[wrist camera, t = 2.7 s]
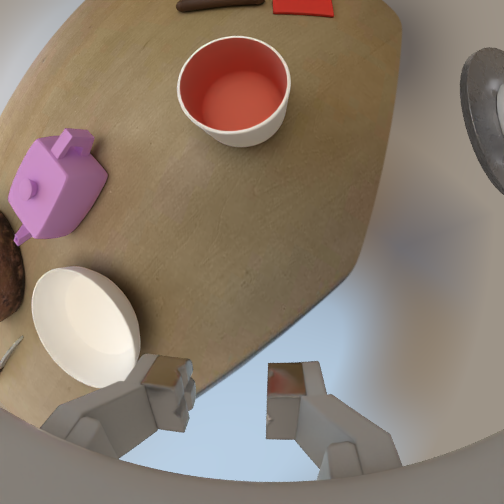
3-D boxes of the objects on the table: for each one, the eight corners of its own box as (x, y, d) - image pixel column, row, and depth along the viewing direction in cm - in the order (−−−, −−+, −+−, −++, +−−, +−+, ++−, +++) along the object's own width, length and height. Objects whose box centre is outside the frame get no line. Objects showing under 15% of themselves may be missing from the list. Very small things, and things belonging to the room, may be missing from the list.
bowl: (180, 331, 38) (164, 359, 31) (110, 377, 42) (91, 402, 35) (99, 228, 36) (68, 238, 29) (44, 295, 39) (17, 311, 32)
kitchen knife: (-11, 383, 45) (12, 347, 38) (-13, 380, 44) (9, 343, 38) (-2, 376, 49) (24, 338, 42) (-4, 373, 49) (21, 334, 42)
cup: (285, 148, 32) (291, 134, 22) (201, 150, 33) (174, 137, 23) (284, 72, 30) (288, 34, 20) (203, 75, 30) (180, 41, 21)
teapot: (65, 255, 37) (21, 275, 27) (30, 210, 36) (-14, 220, 26) (128, 159, 33) (82, 154, 24) (85, 116, 32) (39, 104, 22)
